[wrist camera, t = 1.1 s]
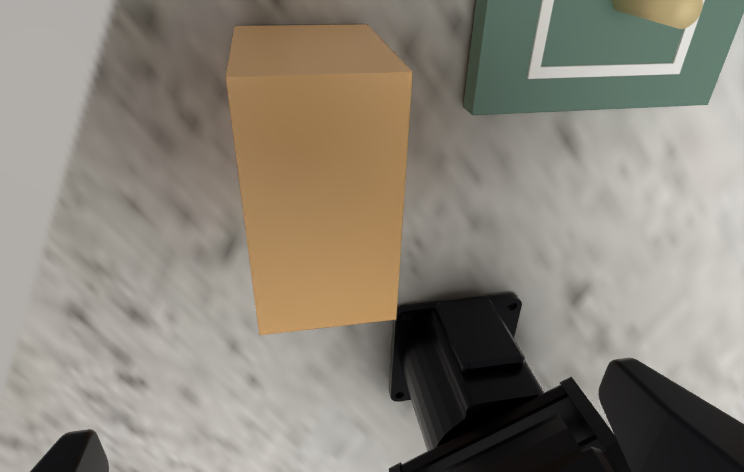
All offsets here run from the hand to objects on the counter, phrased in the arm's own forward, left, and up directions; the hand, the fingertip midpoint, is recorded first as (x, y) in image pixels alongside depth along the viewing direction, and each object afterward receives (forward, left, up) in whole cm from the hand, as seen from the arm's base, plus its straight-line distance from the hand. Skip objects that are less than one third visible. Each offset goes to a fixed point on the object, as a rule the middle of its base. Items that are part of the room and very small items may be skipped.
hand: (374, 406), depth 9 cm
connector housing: (0, 0, -12) cm, 12 cm away
